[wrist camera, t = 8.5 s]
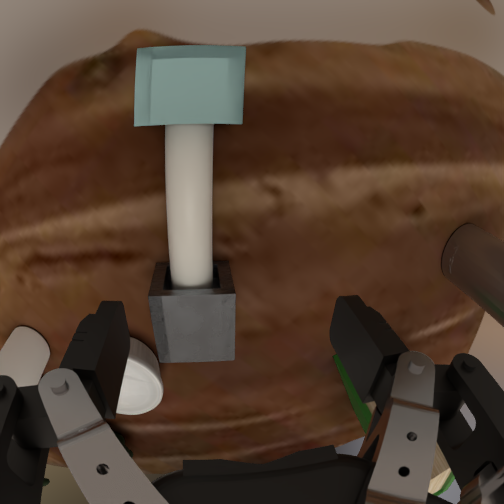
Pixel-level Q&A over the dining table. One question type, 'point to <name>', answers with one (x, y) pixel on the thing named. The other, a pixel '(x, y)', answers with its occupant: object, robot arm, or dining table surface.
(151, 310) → the sleeve
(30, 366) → the can
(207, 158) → the tube
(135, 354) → the ramekin
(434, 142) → the dining table surface
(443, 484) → the hardback book
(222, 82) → the socket
